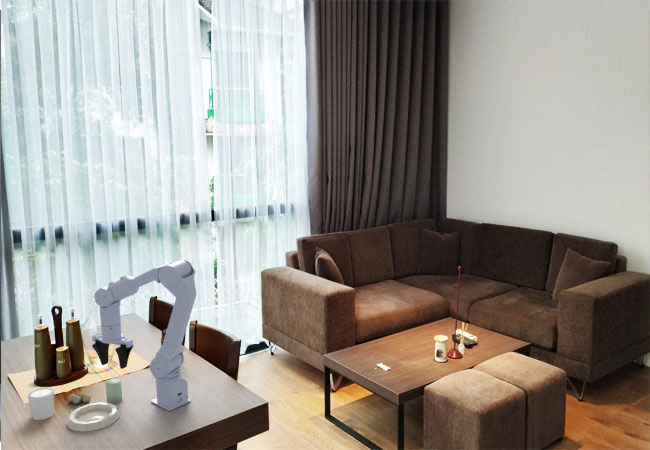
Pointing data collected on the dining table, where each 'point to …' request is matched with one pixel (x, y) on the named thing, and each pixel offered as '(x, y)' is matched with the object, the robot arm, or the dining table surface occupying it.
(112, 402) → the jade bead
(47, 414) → the white cylinder
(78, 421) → the round bowl
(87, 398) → the bead pile
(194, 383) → the dining table surface
